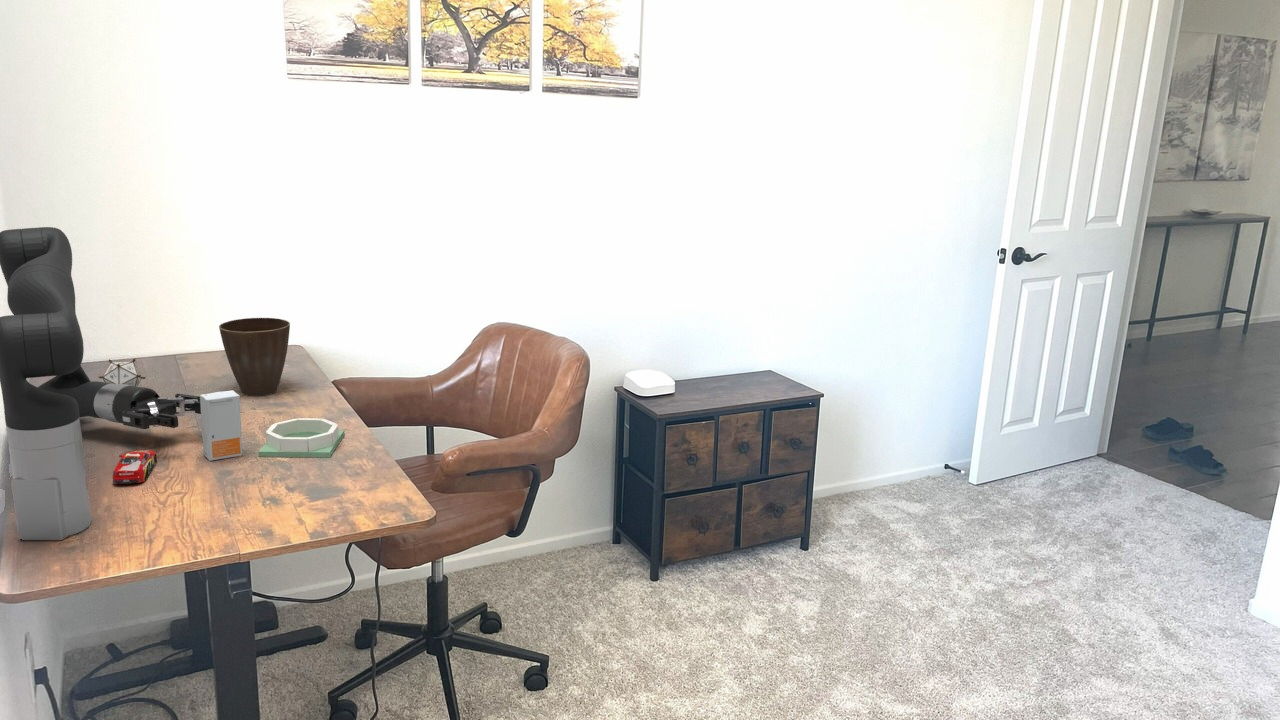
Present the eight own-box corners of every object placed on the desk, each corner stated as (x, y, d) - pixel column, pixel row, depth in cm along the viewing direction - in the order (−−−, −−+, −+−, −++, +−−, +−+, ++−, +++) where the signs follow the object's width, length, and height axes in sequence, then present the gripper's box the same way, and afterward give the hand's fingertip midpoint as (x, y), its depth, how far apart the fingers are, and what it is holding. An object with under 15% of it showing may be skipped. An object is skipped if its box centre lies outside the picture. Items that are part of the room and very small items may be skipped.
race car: (127, 462, 167) (125, 441, 166) (160, 460, 169) (158, 439, 168) (108, 489, 155) (105, 467, 154) (143, 487, 156) (141, 465, 155)
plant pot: (251, 405, 201) (246, 334, 198) (209, 392, 209) (204, 324, 205) (307, 390, 214) (304, 324, 210) (266, 379, 221) (262, 314, 217)
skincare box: (209, 462, 168) (205, 400, 165) (203, 455, 171) (198, 394, 168) (244, 455, 172) (240, 395, 169) (237, 449, 175) (233, 389, 172)
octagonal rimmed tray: (329, 457, 173) (329, 439, 172) (258, 456, 172) (257, 439, 171) (344, 434, 186) (343, 418, 185) (278, 434, 184) (277, 417, 183)
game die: (128, 412, 204) (119, 385, 197) (95, 396, 205) (85, 368, 197) (157, 385, 210) (149, 358, 202) (125, 369, 211) (116, 342, 203)
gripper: (93, 395, 169) (162, 406, 164) (155, 377, 182) (221, 387, 177) (97, 433, 171) (166, 446, 166) (158, 413, 184) (223, 424, 179)
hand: (194, 415), depth 172 cm, fingers open, 8 cm apart
